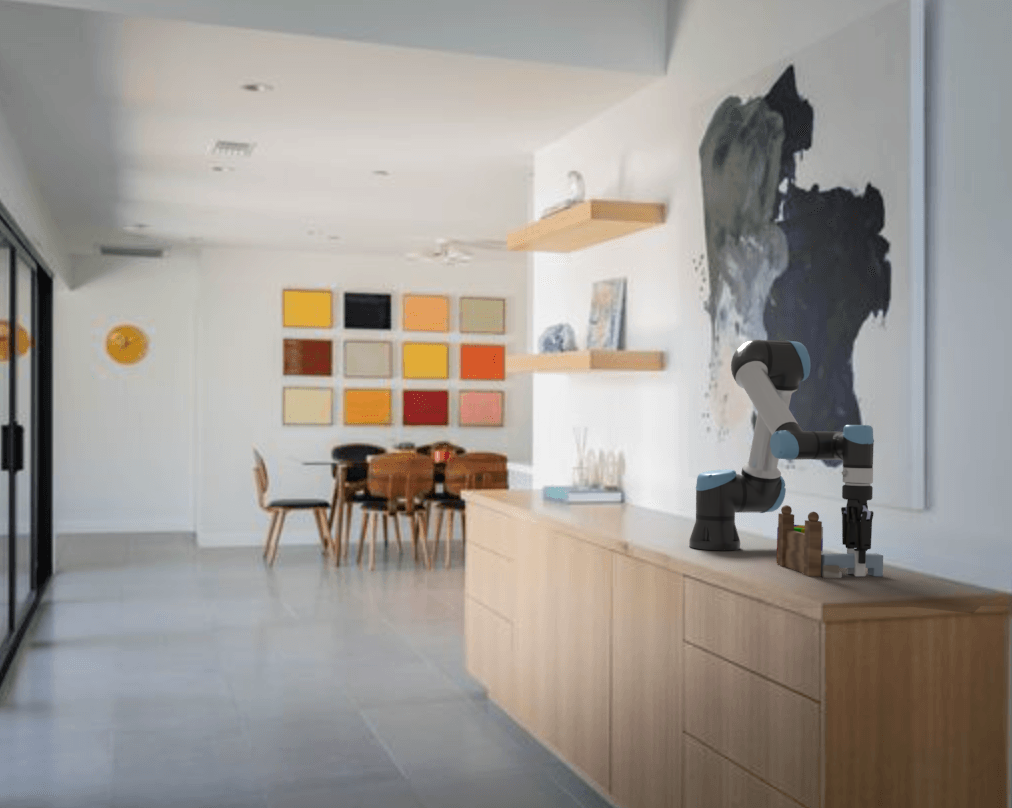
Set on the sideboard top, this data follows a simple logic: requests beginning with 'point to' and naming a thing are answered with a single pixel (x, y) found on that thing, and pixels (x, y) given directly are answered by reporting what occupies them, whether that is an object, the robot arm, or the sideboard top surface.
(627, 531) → the sideboard top surface
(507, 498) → the sideboard top surface
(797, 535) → the headboard
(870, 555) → the rail
